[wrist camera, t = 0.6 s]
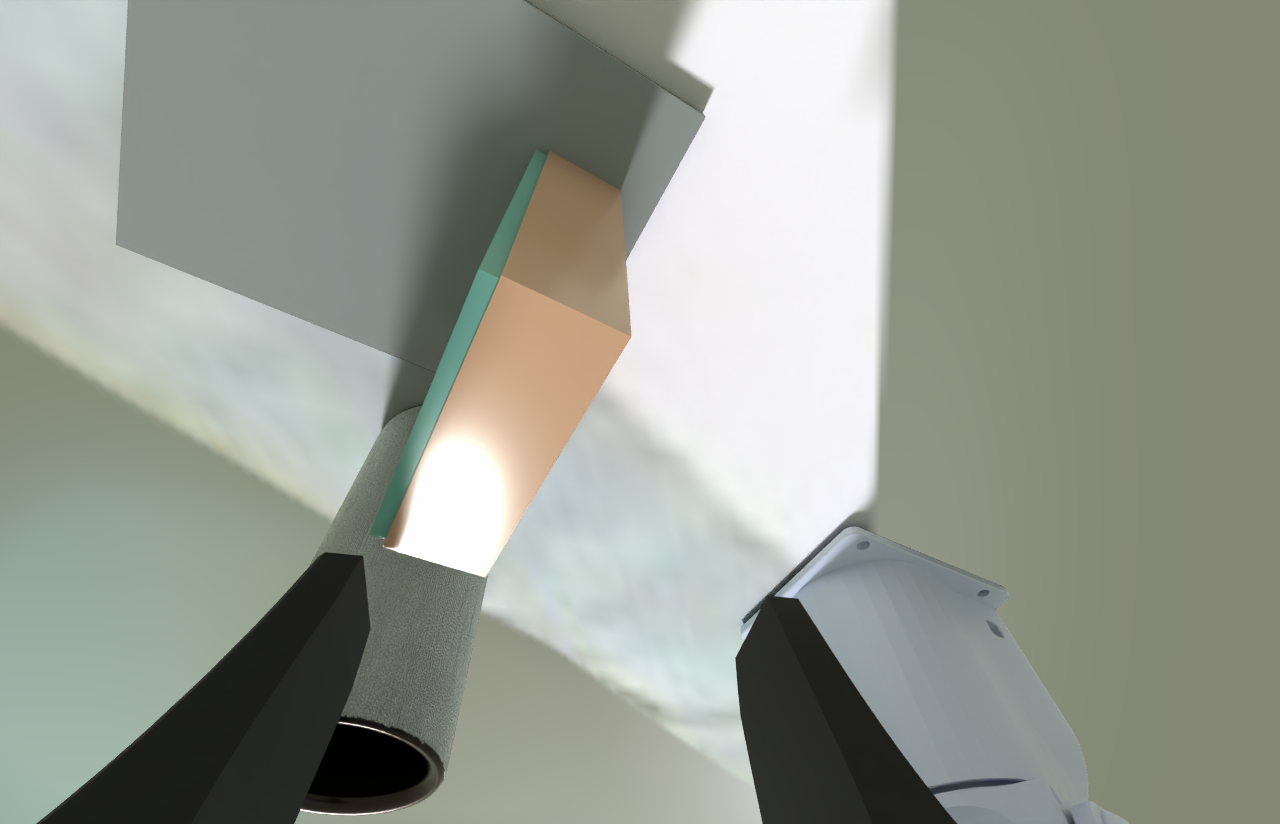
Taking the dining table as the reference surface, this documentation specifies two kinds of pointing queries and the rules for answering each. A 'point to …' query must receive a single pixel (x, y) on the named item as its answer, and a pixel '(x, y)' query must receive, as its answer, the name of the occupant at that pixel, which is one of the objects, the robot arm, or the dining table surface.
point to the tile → (514, 370)
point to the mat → (368, 148)
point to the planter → (396, 657)
